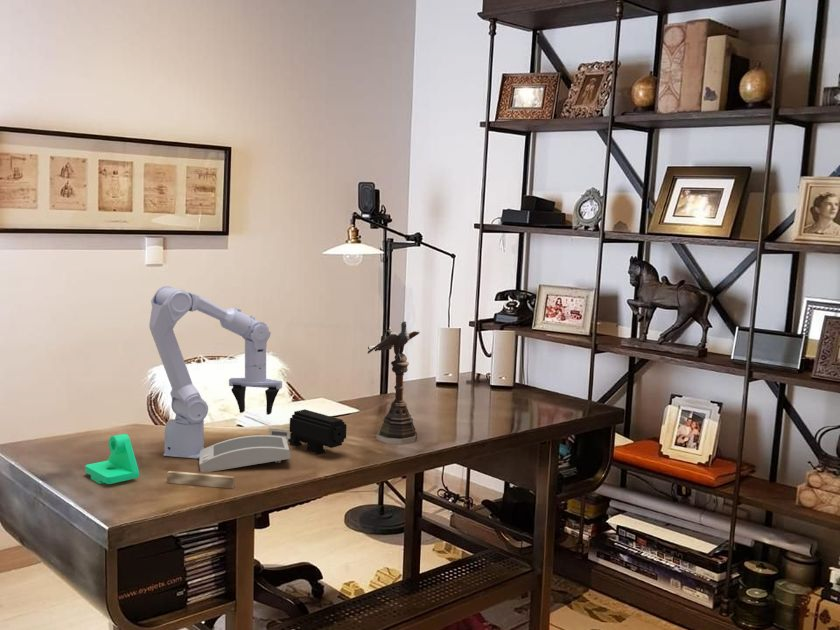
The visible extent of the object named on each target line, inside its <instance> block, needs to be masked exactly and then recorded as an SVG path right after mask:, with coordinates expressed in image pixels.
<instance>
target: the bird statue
mask: <svg viewBox="0 0 840 630" xmlns="http://www.w3.org/2000/svg"><path fill="white" fill-rule="evenodd" d="M400 324H401V325H400V328H401V331H400V333H398V332H393V330H392V328H391V326H389V328H388V330H387V332H388V336H387V337H385V339H383V340H382V341H381V342H379V343H378V344H376V345H368V347H367V349H368V351H367V354H368V355H369V354H370V353H371V352H373V351H374V352H378V351H381V352H383V351H386V350H387V351H388V350H392V349H393V352H394V358H393V359H394V360H393V361H391V363H390V364H391V371H392V372H393V373H394V374H395V386H393V387H394V388H393V389H395V393H394V394H395V398H394V400H393V401H392V402H391V404H390V408H389V410H388V412H387V413H386V415H385V416H384V417H383V419H382V421H383V423H382V425H381V427H380V429H379V430H378V431H377V433H376V440H377V441H379V442H382V443H384V444H388V445H400V446H401V445H407V444H412V443H416V441H417V439H418V438H417V437H418V432H417V431H416V428H415V425H414V422H413V421H414V418H412V415H411V414H410V412H409V409H408V406H407V405H408V404H407V403H406V401H404V397H403V395H404V389H405V386H404V375H405V373H407V372H408V366H409V364H410V363H409V361H407V356H406V354H405V353H404V350H405V345H406V344H407V343H408V342H409V341H410V340H412V339H413V338H415V337H416V336H418V335H419V334H421V333H420V331H419V330H413V331H411V332H409V331H408V329H407V321H402V322H401V323H400Z"/></svg>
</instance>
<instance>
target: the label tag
mask: <svg viewBox="0 0 840 630" xmlns="http://www.w3.org/2000/svg"><path fill="white" fill-rule="evenodd" d="M290 433H291V432H290V428H289V429H287V428H286V429H285V428H273V427H269V428H268V435H271V436H280V437H286V440H287V443H289V442H288V439H290Z"/></svg>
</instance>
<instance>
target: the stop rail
mask: <svg viewBox="0 0 840 630" xmlns="http://www.w3.org/2000/svg"><path fill="white" fill-rule="evenodd" d="M235 479H236V478H235V476H231V475H224V474H223V475H222V474H221V475H220V474H209V473H197V472H187V471H174V470H173V471H172V470H169V471H167V472H166V483H167V484H175V485H176V484H179V485H190V486H198V487H199V486H202V487H212V488H222V489H223V488H224V489H234V488H235Z"/></svg>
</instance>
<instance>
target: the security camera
mask: <svg viewBox="0 0 840 630" xmlns="http://www.w3.org/2000/svg"><path fill="white" fill-rule="evenodd" d="M347 426H348V425H347V424H346V422H345V421H344V420H343V419H341V418H338V417H334V416H331V415H326V414H323V413H318V412H315V411H312V410H309V409H299V410H296V411H295V410H294V413H293V414H291V417H290V418H289V430H290V439H288V442H287V443H289V446H292V447H300V446H302V444H306V445H307V446H306V451H308V452H311V453H314V454H317V455H321V454H324V453H326V449H324V447H327V448H330V449H333V448H337V447H340V446H343V443H344V442H345V439H347Z"/></svg>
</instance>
